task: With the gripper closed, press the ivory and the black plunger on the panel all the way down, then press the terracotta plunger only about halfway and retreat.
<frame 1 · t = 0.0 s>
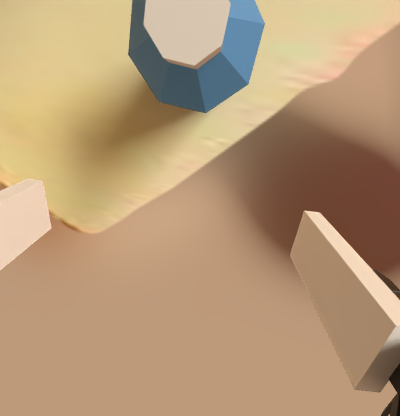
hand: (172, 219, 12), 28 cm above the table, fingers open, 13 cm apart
water bottle: (203, 68, 34), on the table
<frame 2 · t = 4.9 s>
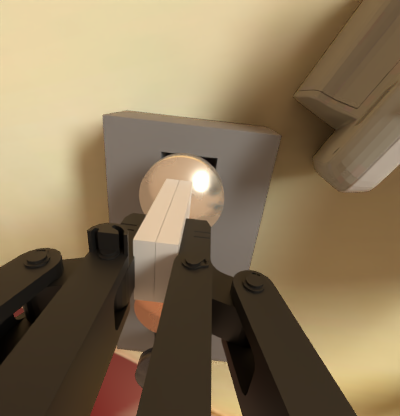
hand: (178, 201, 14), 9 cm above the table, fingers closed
panel: (185, 237, 26), on the table
digital clock: (369, 75, 19), on the table
plunger terracotta: (176, 285, 19), point 7 cm above the table, slide at 0.0 cm
plunger black: (170, 349, 23), point 7 cm above the table, slide at 0.0 cm
plunger ivory: (185, 185, 17), point 6 cm above the table, slide at 1.3 cm, touching gripper
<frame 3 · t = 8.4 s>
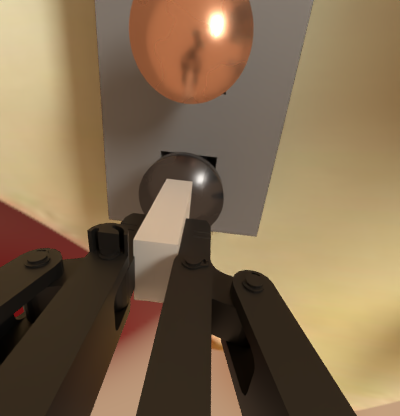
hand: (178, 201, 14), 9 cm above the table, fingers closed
panel: (201, 63, 19), on the table
plunger terracotta: (195, 47, 12), point 7 cm above the table, slide at 0.0 cm
plunger black: (185, 184, 17), point 6 cm above the table, slide at 1.3 cm, touching gripper
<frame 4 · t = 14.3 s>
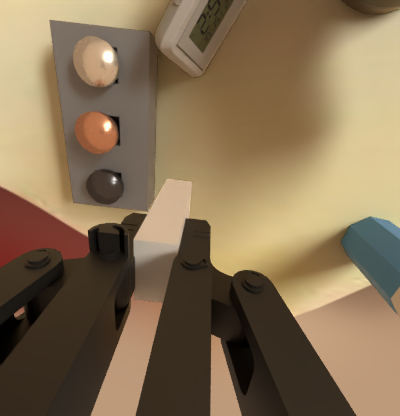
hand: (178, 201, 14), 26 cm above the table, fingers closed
panel: (118, 126, 38), on the table
water bottle: (366, 238, 45), on the table
digital clock: (214, 12, 32), on the table
plunger terracotta: (103, 130, 33), point 6 cm above the table, slide at 1.3 cm
plunger black: (110, 182, 38), point 4 cm above the table, slide at 2.7 cm
plunger ivory: (103, 65, 31), point 4 cm above the table, slide at 2.7 cm
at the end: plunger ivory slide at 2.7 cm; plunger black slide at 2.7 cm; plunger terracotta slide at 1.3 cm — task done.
